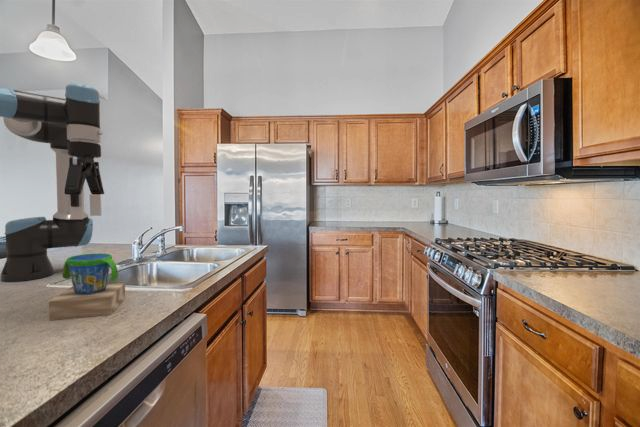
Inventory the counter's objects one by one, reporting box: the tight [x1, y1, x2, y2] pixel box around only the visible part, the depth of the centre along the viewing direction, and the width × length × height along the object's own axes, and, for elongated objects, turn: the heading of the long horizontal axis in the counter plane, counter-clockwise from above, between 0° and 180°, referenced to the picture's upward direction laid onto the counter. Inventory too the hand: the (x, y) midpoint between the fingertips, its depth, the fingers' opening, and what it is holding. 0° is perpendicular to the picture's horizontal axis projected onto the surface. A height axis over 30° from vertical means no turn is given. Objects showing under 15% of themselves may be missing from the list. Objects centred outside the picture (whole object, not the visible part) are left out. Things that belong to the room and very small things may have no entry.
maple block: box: [48, 282, 126, 321], centre depth 90 cm, size 14×14×5 cm
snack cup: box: [62, 253, 119, 294], centre depth 90 cm, size 16×10×10 cm
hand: (87, 217), depth 88 cm, fingers open, 13 cm apart
